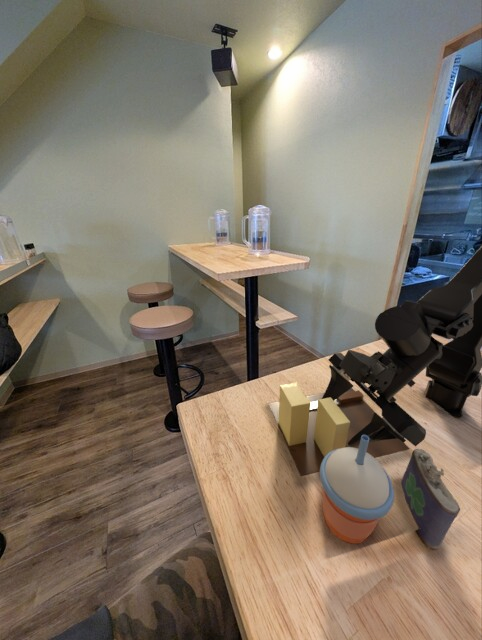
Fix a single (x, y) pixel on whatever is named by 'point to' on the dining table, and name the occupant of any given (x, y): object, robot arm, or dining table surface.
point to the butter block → (293, 413)
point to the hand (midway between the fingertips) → (334, 423)
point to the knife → (341, 399)
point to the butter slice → (330, 426)
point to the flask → (428, 499)
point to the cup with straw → (354, 492)
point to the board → (359, 417)
